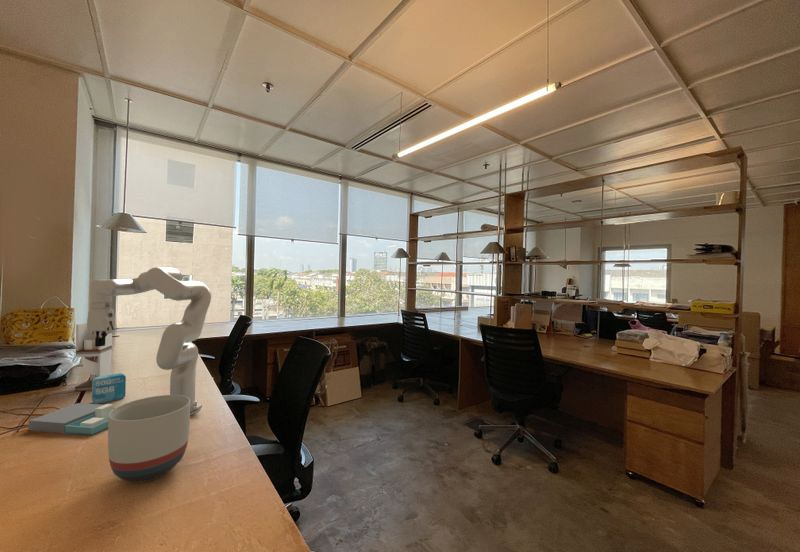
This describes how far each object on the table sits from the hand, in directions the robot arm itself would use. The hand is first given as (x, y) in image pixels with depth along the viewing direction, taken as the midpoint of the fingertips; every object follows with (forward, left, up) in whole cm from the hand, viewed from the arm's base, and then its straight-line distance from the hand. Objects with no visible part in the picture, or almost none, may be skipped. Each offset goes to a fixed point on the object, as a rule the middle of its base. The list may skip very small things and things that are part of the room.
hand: (100, 345), depth 150 cm
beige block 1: (-17, +17, -26) cm, 35 cm away
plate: (-2, +13, -29) cm, 32 cm away
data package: (+6, -10, -29) cm, 32 cm away
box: (-16, +13, -29) cm, 36 cm away
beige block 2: (-11, +9, -26) cm, 30 cm away
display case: (+33, -26, -29) cm, 51 cm away
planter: (-65, +41, -29) cm, 82 cm away
